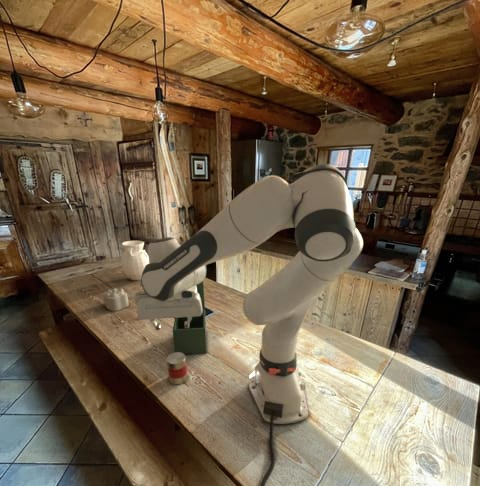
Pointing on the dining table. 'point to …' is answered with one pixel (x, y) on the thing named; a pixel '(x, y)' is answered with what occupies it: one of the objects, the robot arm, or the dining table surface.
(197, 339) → the chest
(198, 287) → the lid
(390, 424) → the dining table surface
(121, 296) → the lumpy-topped squat cylinder
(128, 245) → the pitcher
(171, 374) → the can
